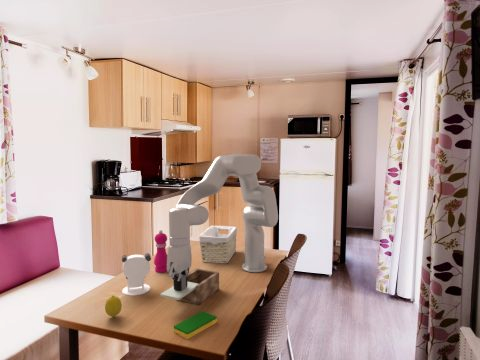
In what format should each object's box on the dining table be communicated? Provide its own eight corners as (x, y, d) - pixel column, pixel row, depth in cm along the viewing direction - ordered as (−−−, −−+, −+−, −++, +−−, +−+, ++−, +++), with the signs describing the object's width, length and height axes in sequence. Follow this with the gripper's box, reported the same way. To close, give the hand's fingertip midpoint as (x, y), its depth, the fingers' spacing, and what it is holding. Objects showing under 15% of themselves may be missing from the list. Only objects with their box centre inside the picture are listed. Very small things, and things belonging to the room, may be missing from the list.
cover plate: (182, 282, 140) (182, 268, 140) (199, 285, 137) (199, 271, 136) (160, 296, 128) (160, 280, 127) (178, 300, 124) (178, 284, 124)
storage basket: (228, 265, 178) (228, 236, 177) (197, 263, 182) (197, 235, 180) (237, 251, 202) (237, 226, 200) (210, 249, 205) (210, 224, 203)
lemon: (108, 313, 127) (107, 292, 126) (123, 313, 128) (122, 292, 127) (103, 321, 122) (102, 299, 121) (119, 320, 122) (118, 298, 121)
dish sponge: (217, 323, 121) (217, 316, 121) (187, 340, 111) (187, 333, 110) (203, 316, 126) (202, 310, 126) (173, 332, 115) (172, 325, 115)
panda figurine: (150, 282, 156) (149, 250, 154) (152, 293, 145) (151, 258, 143) (122, 286, 152) (120, 252, 150) (122, 297, 141) (120, 261, 140)
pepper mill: (171, 268, 173) (171, 229, 171) (164, 273, 167) (163, 232, 164) (159, 266, 176) (158, 227, 174) (151, 271, 169) (150, 231, 167)
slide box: (197, 285, 153) (196, 268, 152) (219, 289, 148) (219, 272, 148) (175, 299, 139) (175, 281, 138) (199, 305, 134) (198, 286, 133)
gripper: (184, 234, 139) (184, 279, 141) (157, 245, 124) (158, 294, 126) (200, 236, 136) (200, 282, 138) (174, 247, 121) (176, 298, 123)
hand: (180, 287), depth 132 cm, fingers closed on cover plate, 3 cm apart
